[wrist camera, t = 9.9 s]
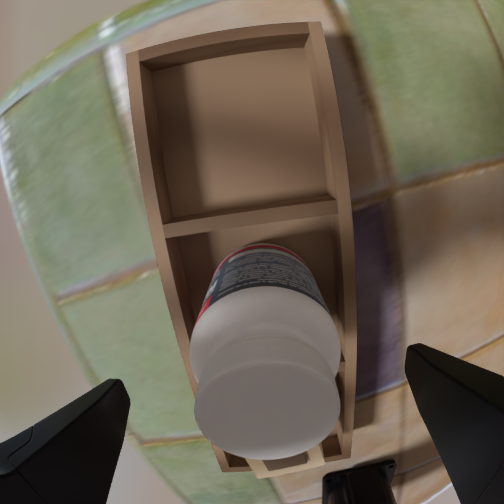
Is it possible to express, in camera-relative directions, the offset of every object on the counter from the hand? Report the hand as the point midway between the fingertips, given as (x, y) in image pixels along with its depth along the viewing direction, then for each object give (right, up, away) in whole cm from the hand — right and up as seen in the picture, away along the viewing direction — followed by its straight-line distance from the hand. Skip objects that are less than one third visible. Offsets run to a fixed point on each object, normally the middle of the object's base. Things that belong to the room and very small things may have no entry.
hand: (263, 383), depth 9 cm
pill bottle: (0, +2, +8) cm, 8 cm away
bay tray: (0, +2, +8) cm, 8 cm away
